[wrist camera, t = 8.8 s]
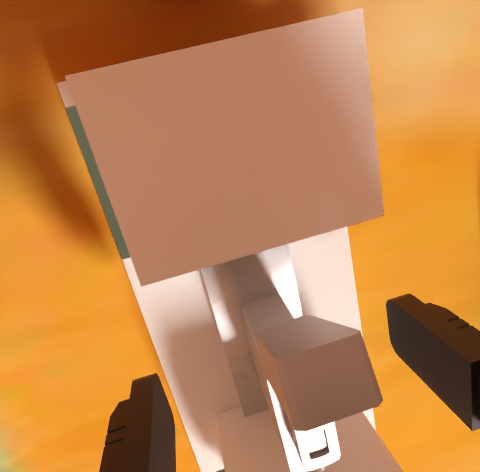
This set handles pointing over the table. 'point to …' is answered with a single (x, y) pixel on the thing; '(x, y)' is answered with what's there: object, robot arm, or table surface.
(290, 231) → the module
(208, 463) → the rail plate
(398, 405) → the table surface
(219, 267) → the rail
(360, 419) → the block
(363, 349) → the lighter
